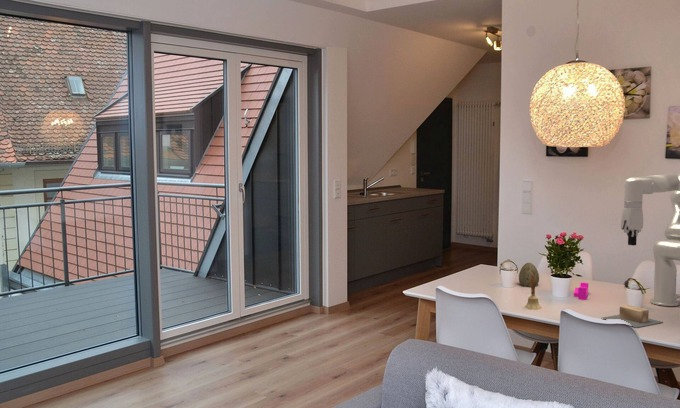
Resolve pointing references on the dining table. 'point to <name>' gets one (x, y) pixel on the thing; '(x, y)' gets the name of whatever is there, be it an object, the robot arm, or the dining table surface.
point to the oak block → (634, 313)
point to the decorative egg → (528, 275)
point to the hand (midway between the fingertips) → (632, 245)
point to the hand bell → (533, 297)
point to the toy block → (581, 291)
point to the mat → (635, 324)
